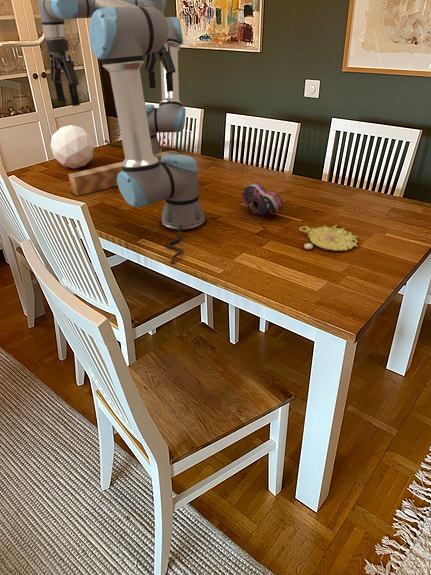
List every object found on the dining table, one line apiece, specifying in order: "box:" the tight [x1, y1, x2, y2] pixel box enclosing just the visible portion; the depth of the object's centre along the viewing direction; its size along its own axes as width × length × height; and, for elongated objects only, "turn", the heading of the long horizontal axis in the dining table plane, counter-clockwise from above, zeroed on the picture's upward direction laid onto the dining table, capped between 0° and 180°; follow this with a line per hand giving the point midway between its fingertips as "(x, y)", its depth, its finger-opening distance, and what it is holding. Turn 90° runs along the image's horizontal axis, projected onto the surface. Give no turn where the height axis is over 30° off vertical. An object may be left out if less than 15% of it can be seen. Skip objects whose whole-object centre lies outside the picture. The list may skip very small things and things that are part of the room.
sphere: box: [50, 124, 95, 170], centre depth 209 cm, size 19×20×20 cm
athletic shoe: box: [238, 182, 284, 217], centre depth 160 cm, size 11×22×12 cm
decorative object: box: [299, 224, 359, 252], centre depth 141 cm, size 21×2×20 cm
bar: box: [68, 149, 180, 197], centre depth 194 cm, size 51×6×8 cm, turn 129°
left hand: (161, 89), depth 188 cm, fingers open, 13 cm apart
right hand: (68, 103), depth 167 cm, fingers open, 13 cm apart
